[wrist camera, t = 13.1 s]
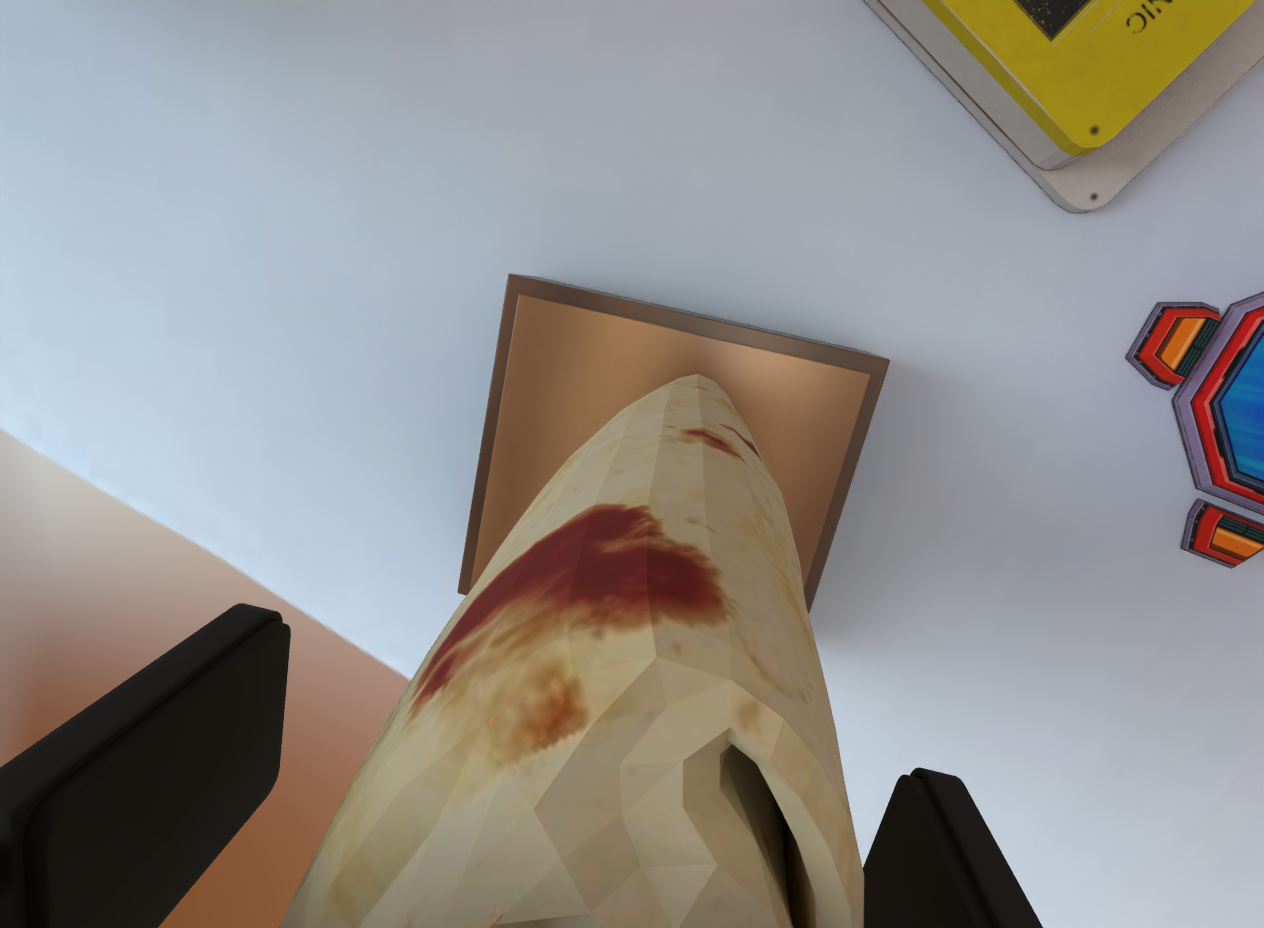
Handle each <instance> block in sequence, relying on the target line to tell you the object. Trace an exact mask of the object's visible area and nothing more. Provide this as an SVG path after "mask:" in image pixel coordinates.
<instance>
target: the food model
mask: <svg viewBox="0 0 1264 928" xmlns="http://www.w3.org/2000/svg"><path fill="white" fill-rule="evenodd" d="M863 926H864V872H863V868H862V864H861V859H860V855H859V850H858V846H857V841H856V837H855V832H854V827H853V822H852V817H851V812H850V807H849V802H848V797H847V792H846V787H845V782H844V776H843V770H842V764H841V758H840V753H839V747H838V741H837V735H836V729H835V724H834V720H833V715H832V711H831V706H830V702H829V697H828V693H827V688H826V684H825V680H824V676H823V672H822V668H821V663H820V659H819V655H818V651H817V647H816V643H815V639H814V635H813V631H812V627H811V623H810V619H809V615H808V611H807V607H806V602H805V597H804V590H803V583H802V576H801V568H800V561H799V557H798V554H797V550H796V546H795V542H794V538H793V534H792V530H791V526H790V522H789V518H788V514H787V510H786V507H785V503H784V500H783V496H782V492H781V491H780V489H779V487H778V486H777V484H776V483H775V481H774V479H773V478H772V476H771V474H770V473H769V471H768V469H767V467H766V464H765V462H764V460H763V458H762V456H761V454H760V452H759V450H758V448H757V446H756V444H755V442H754V440H753V438H752V436H751V434H750V432H749V430H748V428H747V426H746V424H745V422H744V420H743V418H742V417H741V416H740V415H739V414H738V413H737V411H736V410H735V408H734V406H733V404H732V402H731V400H730V397H729V396H728V395H727V394H726V393H725V392H724V391H723V389H722V388H721V387H720V386H719V385H718V384H717V383H716V382H715V381H713V380H711V379H709V378H707V377H704V376H702V375H700V374H695V375H690V376H685V377H680V378H678V379H676V380H674V381H672V382H670V383H668V384H666V385H664V386H662V387H660V388H658V389H656V390H654V391H653V392H651V393H649V394H647V395H646V396H644V397H642V398H641V399H639V400H637V401H636V402H634V403H632V404H631V405H629V406H627V407H626V408H624V409H623V410H621V411H620V412H619V413H618V414H617V415H616V416H615V417H613V418H612V419H611V420H610V421H609V422H608V423H607V424H606V425H605V426H603V427H602V428H601V429H600V430H599V431H598V432H597V433H596V434H595V435H594V436H592V437H591V438H590V439H589V440H588V441H587V442H586V443H585V444H584V445H582V446H581V447H580V448H579V449H578V450H577V451H576V452H575V453H574V454H573V455H571V456H570V457H569V458H568V460H567V461H566V462H565V463H564V464H563V465H562V466H561V468H560V469H559V470H558V471H557V472H556V473H555V475H554V476H553V477H552V478H551V479H550V481H549V482H548V483H547V484H546V485H545V487H544V488H543V489H542V490H541V491H540V493H539V494H538V495H537V497H536V498H535V499H534V501H533V502H532V503H531V505H530V506H529V507H528V509H527V510H526V511H525V513H524V514H523V516H522V517H521V518H520V520H519V521H518V522H517V524H516V525H515V526H514V528H513V529H512V531H511V532H510V533H509V535H508V536H507V538H506V539H505V540H504V542H503V543H502V545H501V546H500V547H499V549H498V550H497V552H496V553H495V555H494V556H493V558H492V559H491V561H490V562H489V564H488V565H487V567H486V569H485V570H484V572H483V573H482V575H481V576H480V578H479V579H478V581H477V582H476V584H475V585H474V587H473V588H472V589H471V591H470V592H469V593H468V595H467V596H466V597H465V599H464V600H463V601H462V603H461V604H460V606H459V607H458V608H457V610H456V611H455V612H454V614H453V615H452V617H451V618H450V620H449V621H448V623H447V625H446V626H445V628H444V629H443V631H442V632H441V634H440V635H439V637H438V638H437V640H436V641H435V643H434V644H433V646H432V647H431V649H430V650H429V652H428V654H427V655H426V657H425V659H424V660H423V662H422V664H421V665H420V667H419V669H418V670H417V672H416V674H415V675H414V677H413V679H412V680H411V682H410V684H409V685H408V687H407V689H406V690H405V692H404V694H403V695H402V697H401V699H400V700H399V702H398V704H397V706H396V707H395V709H394V710H393V712H392V714H391V715H390V717H389V719H388V720H387V722H386V724H385V725H384V727H383V729H382V730H381V732H380V734H379V735H378V737H377V739H376V740H375V742H374V744H373V746H372V747H371V749H370V750H369V752H368V754H367V755H366V757H365V759H364V761H363V763H362V765H361V767H360V768H359V770H358V772H357V774H356V776H355V778H354V780H353V782H352V784H351V785H350V787H349V789H348V791H347V793H346V795H345V797H344V799H343V801H342V803H341V805H340V806H339V808H338V810H337V813H336V815H335V816H334V818H333V820H332V822H331V825H330V826H329V828H328V830H327V832H326V834H325V836H324V838H323V840H322V842H321V844H320V846H319V848H318V850H317V851H316V853H315V855H314V857H313V860H312V861H311V863H310V865H309V867H308V869H307V871H306V873H305V875H304V877H303V879H302V881H301V883H300V885H299V887H298V889H297V891H296V892H295V895H294V896H293V898H292V900H291V902H290V905H289V907H288V909H287V911H286V914H285V916H284V918H283V920H282V922H281V925H280V927H279V928H863Z"/></svg>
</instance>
